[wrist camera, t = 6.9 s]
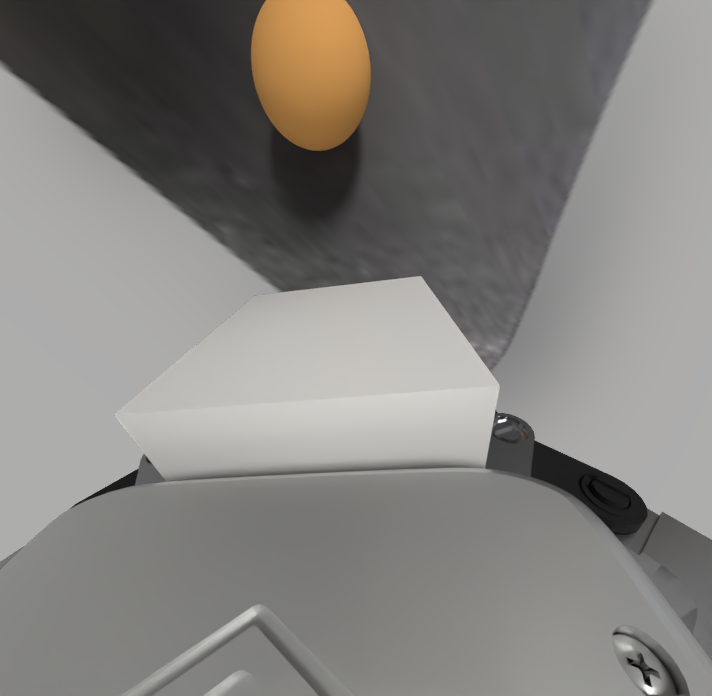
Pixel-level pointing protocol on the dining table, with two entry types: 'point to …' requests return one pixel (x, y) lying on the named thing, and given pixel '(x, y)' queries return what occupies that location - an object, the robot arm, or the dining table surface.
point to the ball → (311, 70)
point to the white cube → (321, 389)
